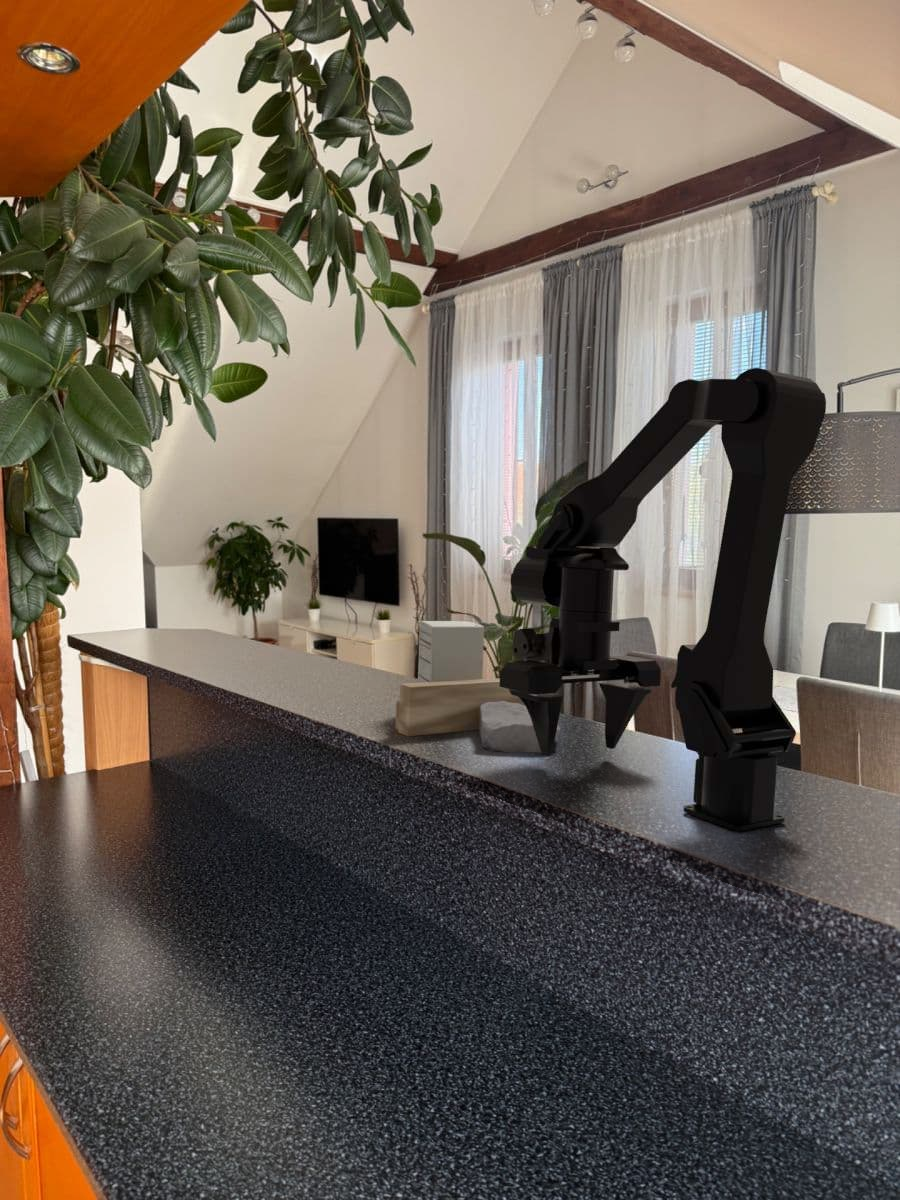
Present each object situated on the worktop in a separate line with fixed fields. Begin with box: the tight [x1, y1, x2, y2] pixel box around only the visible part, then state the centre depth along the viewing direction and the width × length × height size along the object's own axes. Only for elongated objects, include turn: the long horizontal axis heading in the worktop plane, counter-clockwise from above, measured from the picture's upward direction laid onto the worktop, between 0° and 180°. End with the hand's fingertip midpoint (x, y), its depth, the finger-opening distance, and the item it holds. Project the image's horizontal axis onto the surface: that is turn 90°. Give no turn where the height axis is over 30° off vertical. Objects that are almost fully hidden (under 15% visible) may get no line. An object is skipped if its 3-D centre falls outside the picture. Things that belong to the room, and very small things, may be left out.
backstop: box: [395, 677, 525, 737], centre depth 118 cm, size 4×22×6 cm, turn 122°
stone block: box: [478, 701, 561, 754], centre depth 110 cm, size 12×5×10 cm
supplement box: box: [417, 620, 485, 683], centre depth 124 cm, size 7×7×13 cm
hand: (578, 751), depth 100 cm, fingers open, 9 cm apart
